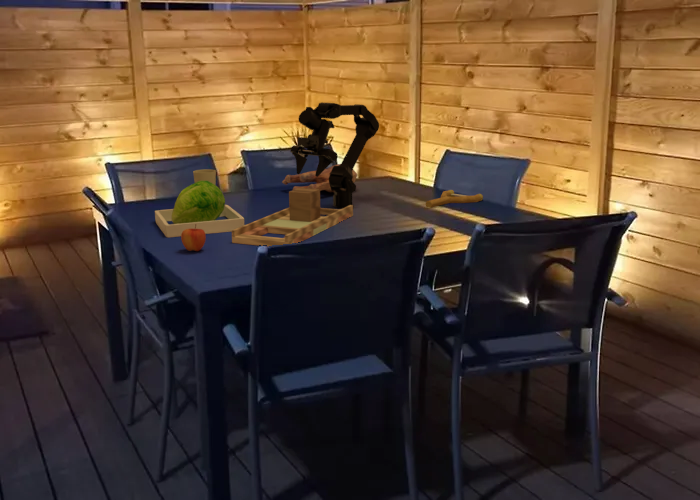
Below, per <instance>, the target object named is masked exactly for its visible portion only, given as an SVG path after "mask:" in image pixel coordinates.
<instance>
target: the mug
mask: <svg viewBox="0 0 700 500" xmlns="http://www.w3.org/2000/svg"><path fill="white" fill-rule="evenodd" d="M216 171H217V170H216V169H209V168H208V169H196V170H193V171H192V173H193V180H194V181H193V182H194V183H196V182H198V181H209V182H211V183H212V184H214V185H216V181H217V179H216V177H217V176H216V175H217V174H216ZM216 186H217V185H216Z"/></svg>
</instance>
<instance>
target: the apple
mask: <svg viewBox="0 0 700 500" xmlns="http://www.w3.org/2000/svg"><path fill="white" fill-rule="evenodd" d="M195 228H196V224H195ZM206 235H207V234H205V232H204V230H202V229H186V230H184V231H183V232H182V234H181V236H180V239H181V242H182V245H183V247H184V248H185V250H187V251H189V252H191V251H195V252H199V251H201V250H202V249H203V247H204V245H205V243H206V241H207V240H206V238H207V237H206Z"/></svg>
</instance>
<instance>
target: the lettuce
mask: <svg viewBox="0 0 700 500" xmlns="http://www.w3.org/2000/svg"><path fill="white" fill-rule="evenodd" d="M224 205H226V199H225V195H224V193H223V192H222V190H221V189H220V187H218V186H217V185H214V184H212V183H211V182H209V181H198V182H196V183H195V182H194V183H191V184H190V185H188V186H187V187H184V188H183V189H182V190H181V191H180V193H179V194H178V196H177V198H176V200H175V202H174V206H173V208H172V209H173V212H172V221H171V222H172V224H181V223H192V222H204V221H215V220H218V218H220V217H219V216H220V215H221V213H222V212H223V210H224Z"/></svg>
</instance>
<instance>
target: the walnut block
mask: <svg viewBox="0 0 700 500" xmlns="http://www.w3.org/2000/svg"><path fill="white" fill-rule="evenodd" d="M288 204H289V205H288V208H289V213H290V220H293V221H304V222H312V221H314V220H316V219H318V218H320V216H321V214H320V208H321V191H320V189H308V188H298V189H295V190H293V189H292V190H290V191H288Z"/></svg>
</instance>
